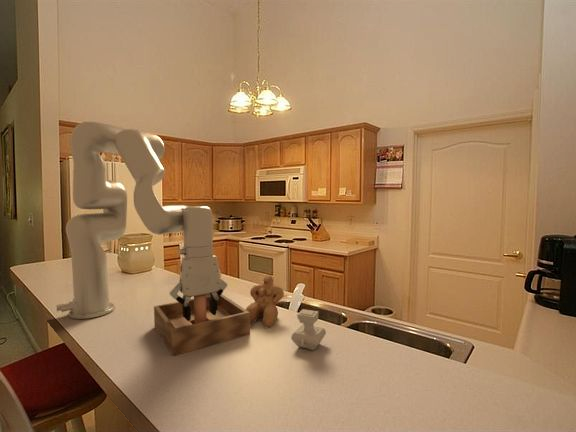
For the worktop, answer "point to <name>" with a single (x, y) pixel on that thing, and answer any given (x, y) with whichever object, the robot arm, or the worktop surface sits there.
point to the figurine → (265, 302)
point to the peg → (200, 308)
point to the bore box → (200, 325)
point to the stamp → (308, 330)
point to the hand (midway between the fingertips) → (200, 315)
